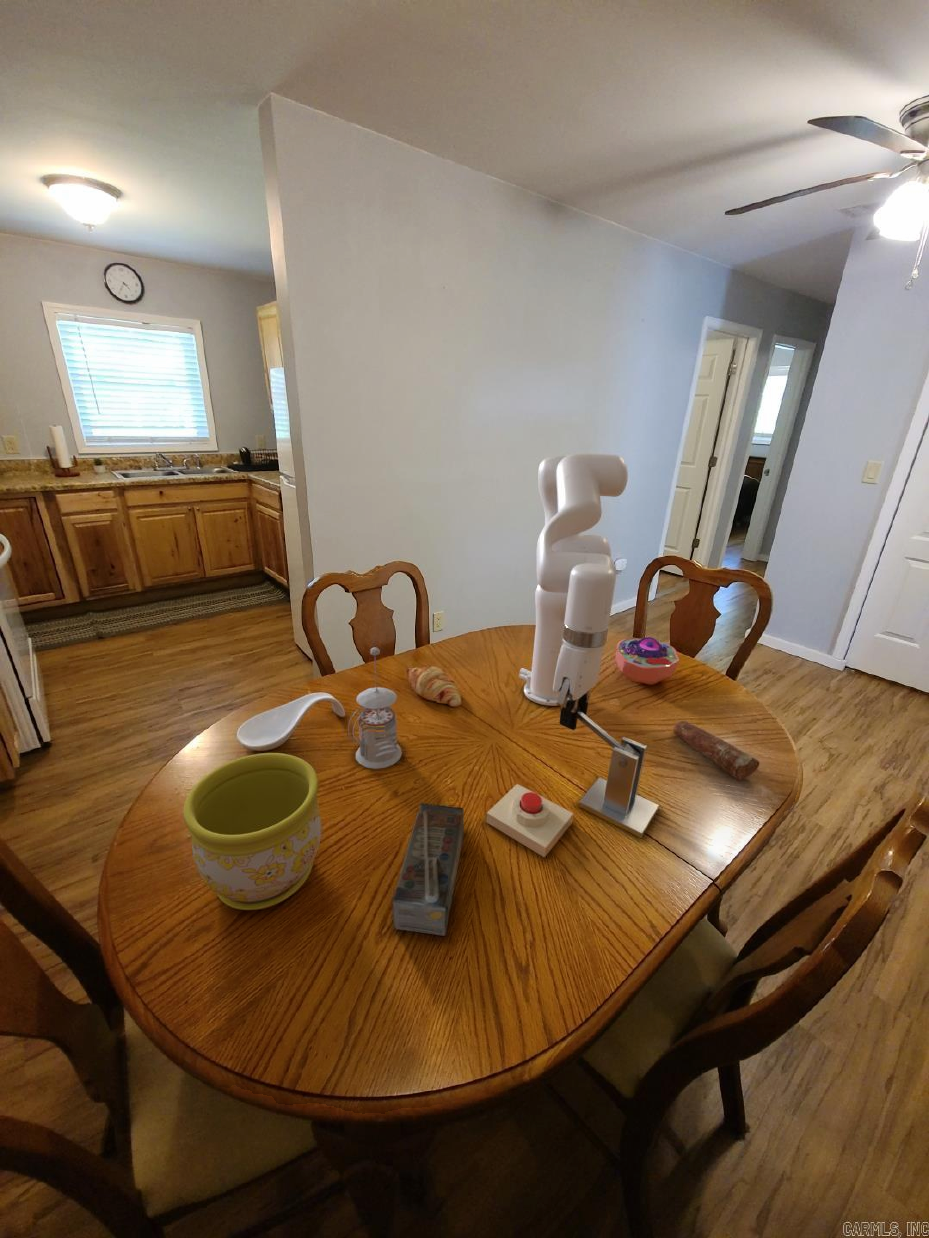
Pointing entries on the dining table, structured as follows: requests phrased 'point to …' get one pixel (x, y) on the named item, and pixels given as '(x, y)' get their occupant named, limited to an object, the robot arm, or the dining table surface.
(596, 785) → the bracket
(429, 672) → the croissant
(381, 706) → the french press
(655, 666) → the cell model
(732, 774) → the salami
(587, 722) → the lever
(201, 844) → the flowerpot
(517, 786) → the button block
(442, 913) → the grey printed box
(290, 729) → the spoon rest
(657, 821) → the dining table surface
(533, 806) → the button
